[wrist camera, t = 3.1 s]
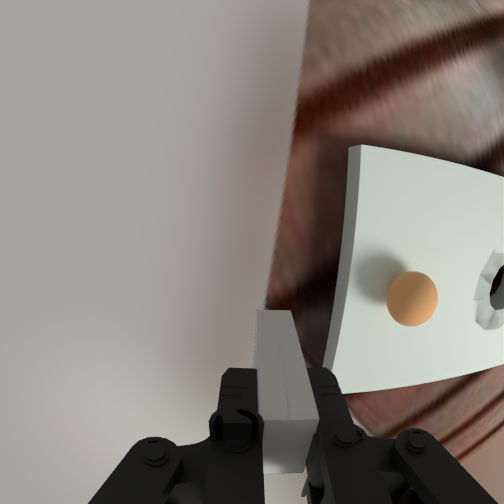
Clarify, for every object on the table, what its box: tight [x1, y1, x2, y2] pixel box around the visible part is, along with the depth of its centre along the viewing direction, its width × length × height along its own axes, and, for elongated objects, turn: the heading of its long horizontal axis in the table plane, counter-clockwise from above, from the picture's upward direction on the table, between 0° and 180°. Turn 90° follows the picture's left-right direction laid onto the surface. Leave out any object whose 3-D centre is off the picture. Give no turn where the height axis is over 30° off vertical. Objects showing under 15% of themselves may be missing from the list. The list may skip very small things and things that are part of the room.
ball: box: [386, 271, 438, 327], centre depth 17 cm, size 4×4×4 cm
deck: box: [322, 145, 504, 394], centre depth 19 cm, size 22×18×2 cm
